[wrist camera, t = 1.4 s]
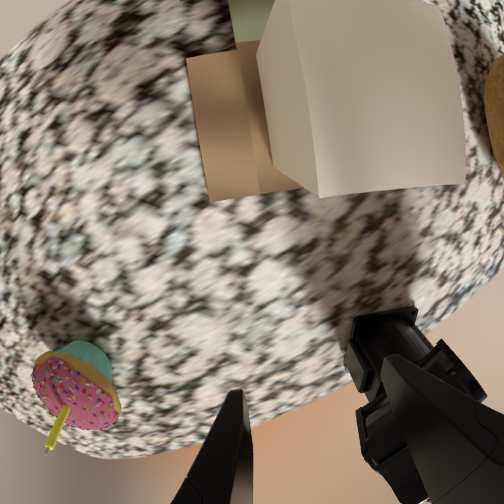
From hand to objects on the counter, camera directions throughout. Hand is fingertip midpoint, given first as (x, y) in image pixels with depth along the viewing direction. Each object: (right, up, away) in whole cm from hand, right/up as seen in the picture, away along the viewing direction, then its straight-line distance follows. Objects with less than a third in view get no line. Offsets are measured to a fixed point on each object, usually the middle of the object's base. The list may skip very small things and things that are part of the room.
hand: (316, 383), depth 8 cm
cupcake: (-17, -6, +14) cm, 23 cm away
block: (+2, +13, +7) cm, 15 cm away
